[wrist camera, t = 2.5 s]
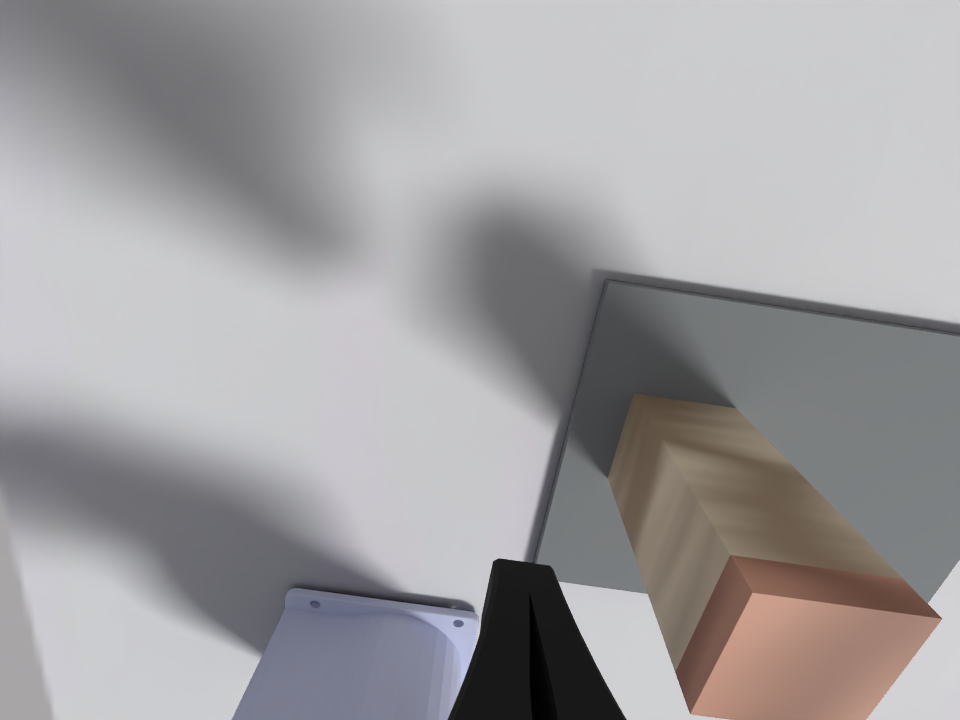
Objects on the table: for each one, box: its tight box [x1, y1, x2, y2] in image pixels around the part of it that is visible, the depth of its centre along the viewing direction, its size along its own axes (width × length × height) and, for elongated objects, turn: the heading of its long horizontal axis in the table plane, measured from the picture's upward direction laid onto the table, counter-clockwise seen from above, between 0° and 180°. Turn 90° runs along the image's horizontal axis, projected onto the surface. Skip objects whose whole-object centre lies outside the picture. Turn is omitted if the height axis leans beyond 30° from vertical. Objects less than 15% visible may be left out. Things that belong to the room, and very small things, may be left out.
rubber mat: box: [534, 280, 960, 604], centre depth 19 cm, size 18×14×1 cm
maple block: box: [608, 393, 942, 720], centre depth 15 cm, size 4×4×9 cm
